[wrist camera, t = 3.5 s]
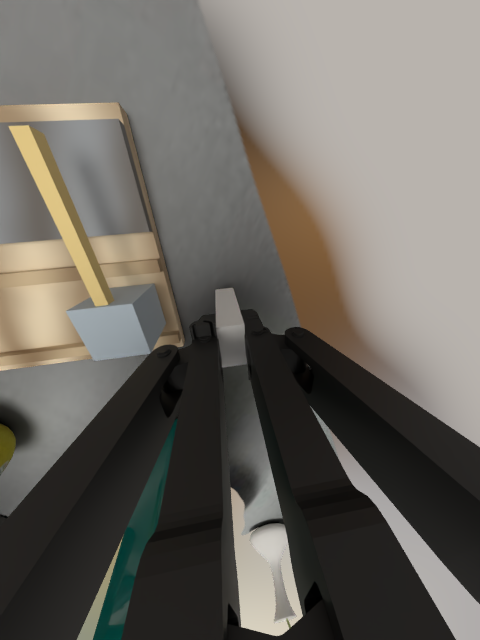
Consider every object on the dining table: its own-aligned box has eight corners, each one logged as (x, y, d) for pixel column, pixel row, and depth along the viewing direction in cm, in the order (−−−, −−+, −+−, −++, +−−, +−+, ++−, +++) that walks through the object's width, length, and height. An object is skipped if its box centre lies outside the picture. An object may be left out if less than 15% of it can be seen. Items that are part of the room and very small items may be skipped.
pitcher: (146, 441, 27) (-19, 963, 8) (180, 411, 25) (70, 1015, 6) (197, 459, 31) (171, 837, 12) (231, 434, 29) (264, 842, 10)
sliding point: (123, 328, 17) (94, 361, 13) (51, 162, 12) (-43, 123, 7) (166, 323, 18) (150, 353, 13) (116, 158, 12) (62, 120, 8)
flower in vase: (241, 528, 49) (263, 773, 27) (278, 514, 48) (333, 759, 26) (261, 538, 55) (293, 745, 33) (295, 525, 54) (351, 732, 32)
